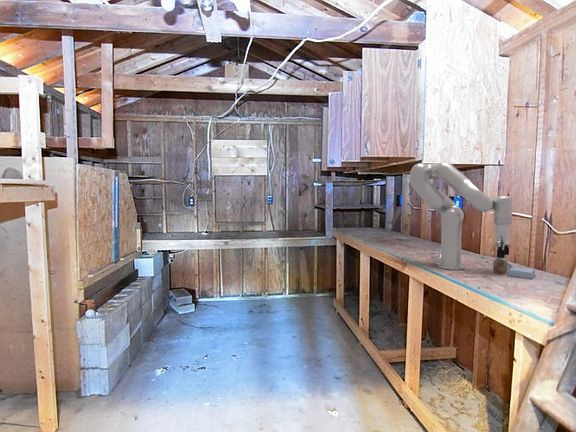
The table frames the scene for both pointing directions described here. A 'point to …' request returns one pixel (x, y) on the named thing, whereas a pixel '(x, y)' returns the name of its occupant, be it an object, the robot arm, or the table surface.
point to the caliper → (507, 261)
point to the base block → (521, 272)
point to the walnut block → (500, 266)
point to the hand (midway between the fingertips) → (503, 256)
